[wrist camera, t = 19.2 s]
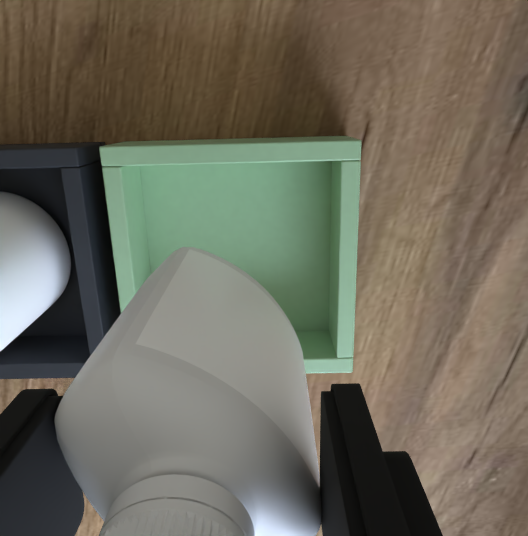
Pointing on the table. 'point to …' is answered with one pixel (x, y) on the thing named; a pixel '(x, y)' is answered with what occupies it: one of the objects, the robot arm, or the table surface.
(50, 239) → the can
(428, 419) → the table surface
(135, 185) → the sage bin
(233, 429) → the eye dropper bottle
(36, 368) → the charcoal bin
